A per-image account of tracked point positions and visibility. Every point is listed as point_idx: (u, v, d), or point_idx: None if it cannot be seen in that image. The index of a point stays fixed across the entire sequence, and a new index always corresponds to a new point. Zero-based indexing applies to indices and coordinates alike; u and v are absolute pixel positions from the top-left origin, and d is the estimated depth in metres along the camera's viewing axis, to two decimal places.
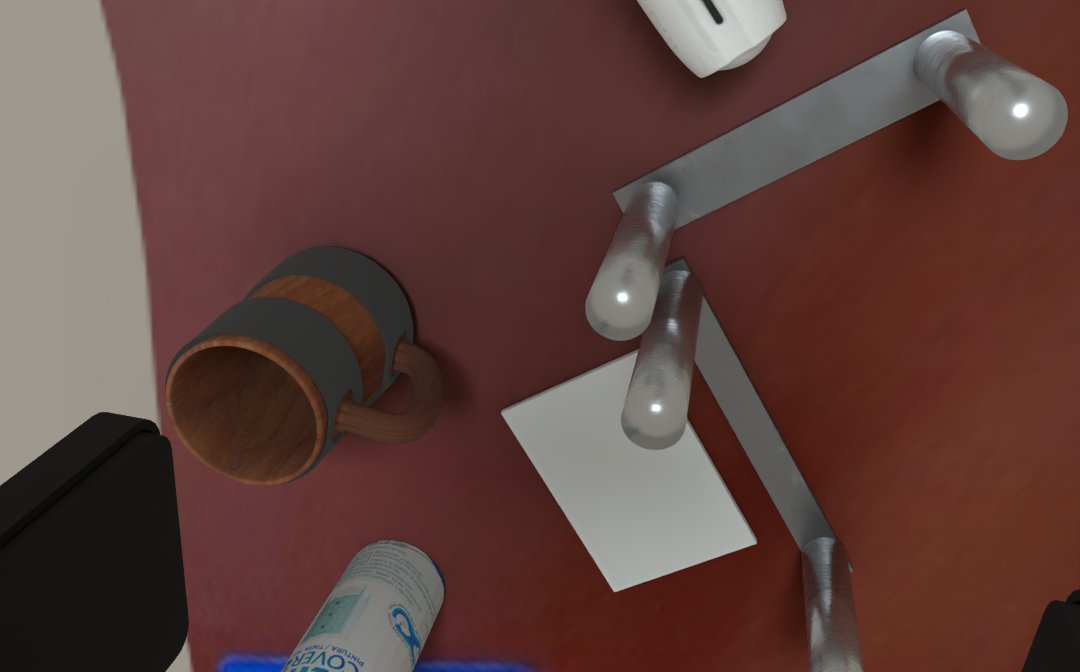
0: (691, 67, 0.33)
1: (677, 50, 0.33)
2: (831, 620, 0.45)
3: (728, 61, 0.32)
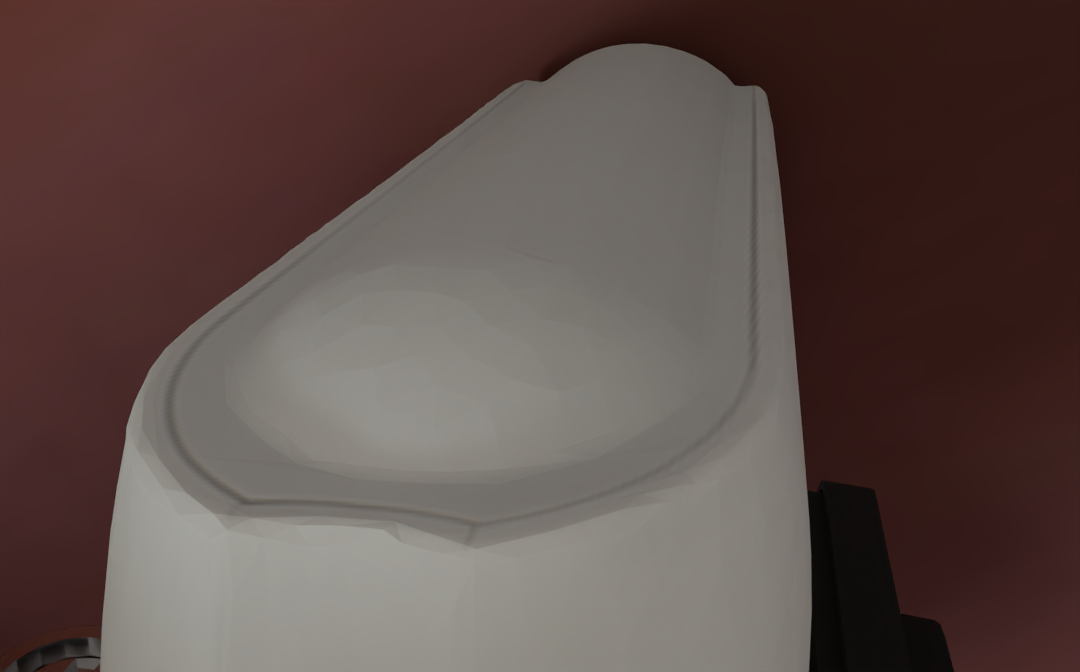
0: (766, 559, 0.04)
1: None
2: None
3: (453, 567, 0.04)
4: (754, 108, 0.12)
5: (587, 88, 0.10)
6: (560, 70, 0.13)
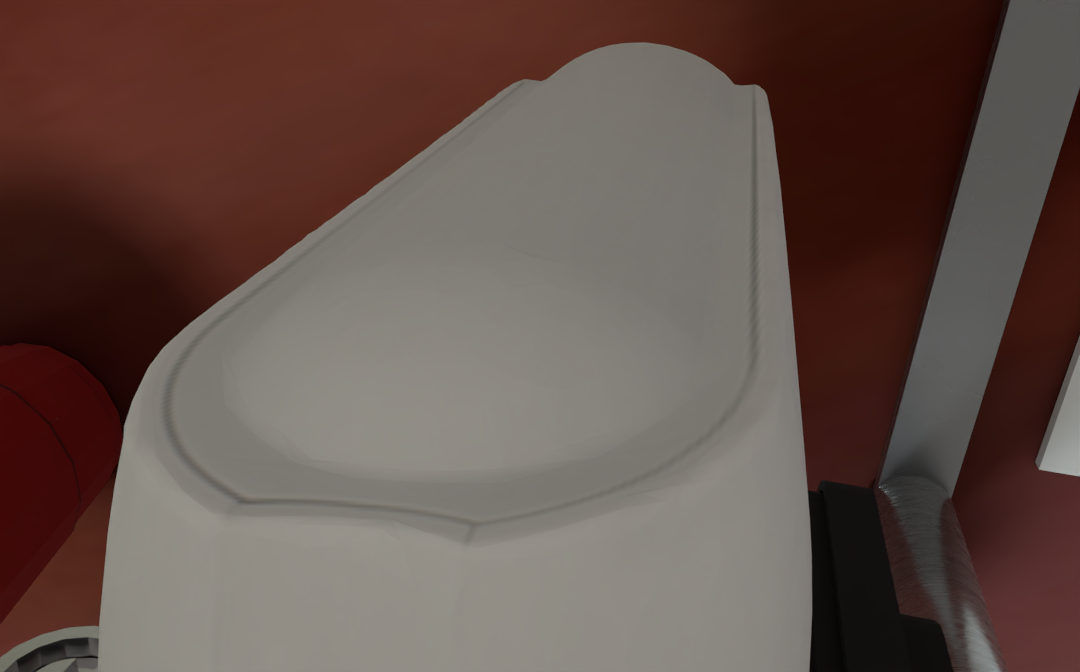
0: (766, 559, 0.04)
1: None
2: None
3: (452, 566, 0.04)
4: (754, 107, 0.12)
5: (587, 87, 0.10)
6: (560, 69, 0.13)
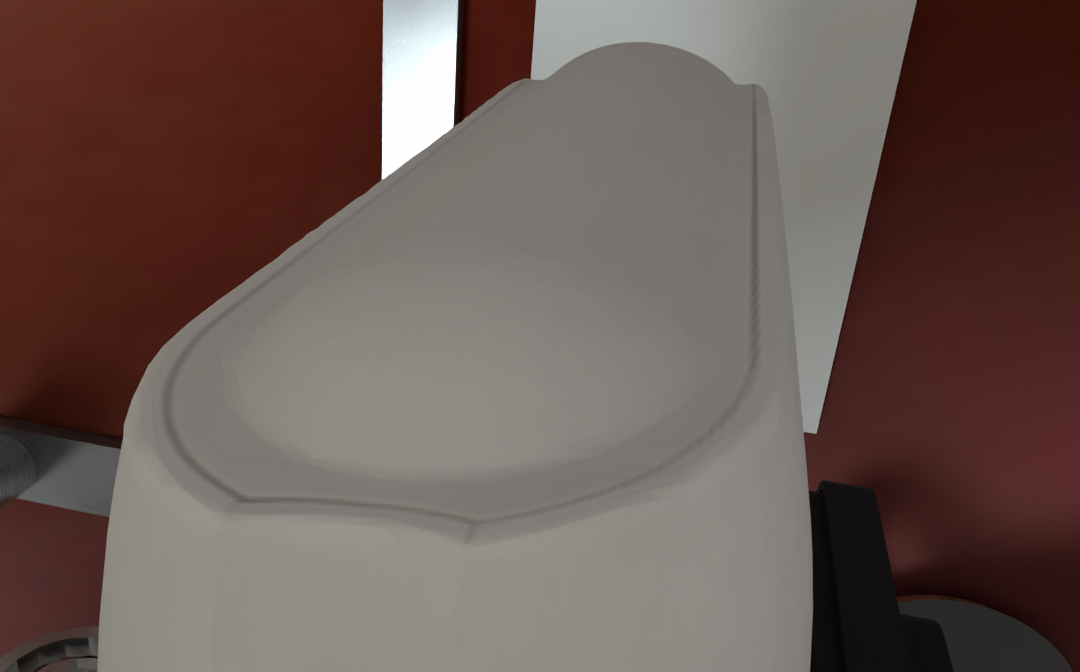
0: (767, 557, 0.04)
1: None
2: None
3: (453, 564, 0.04)
4: (754, 106, 0.12)
5: (587, 86, 0.10)
6: (560, 68, 0.13)
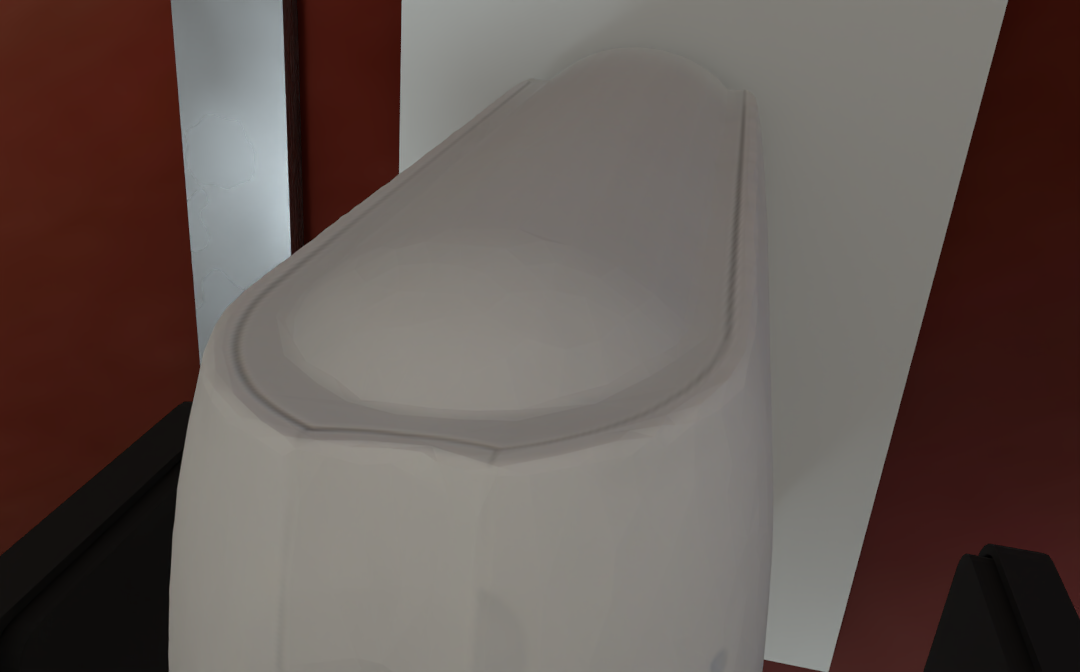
0: (731, 491, 0.05)
1: (727, 634, 0.05)
2: None
3: (478, 480, 0.05)
4: (744, 112, 0.13)
5: (590, 89, 0.11)
6: (564, 70, 0.14)
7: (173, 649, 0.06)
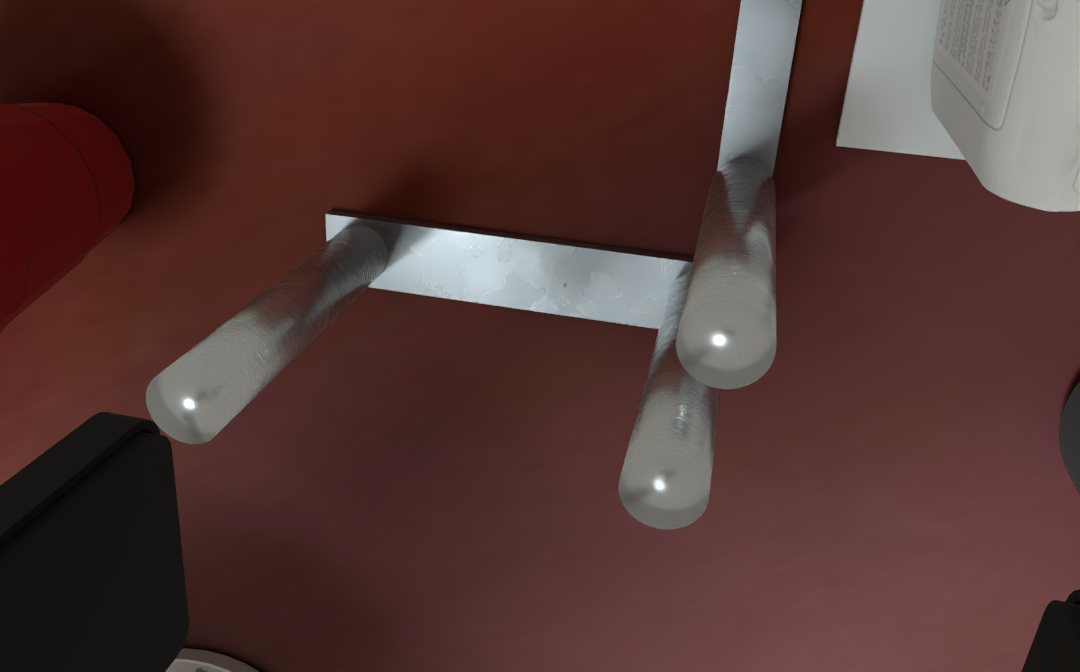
0: None
1: None
2: None
3: None
4: None
5: None
6: None
7: None
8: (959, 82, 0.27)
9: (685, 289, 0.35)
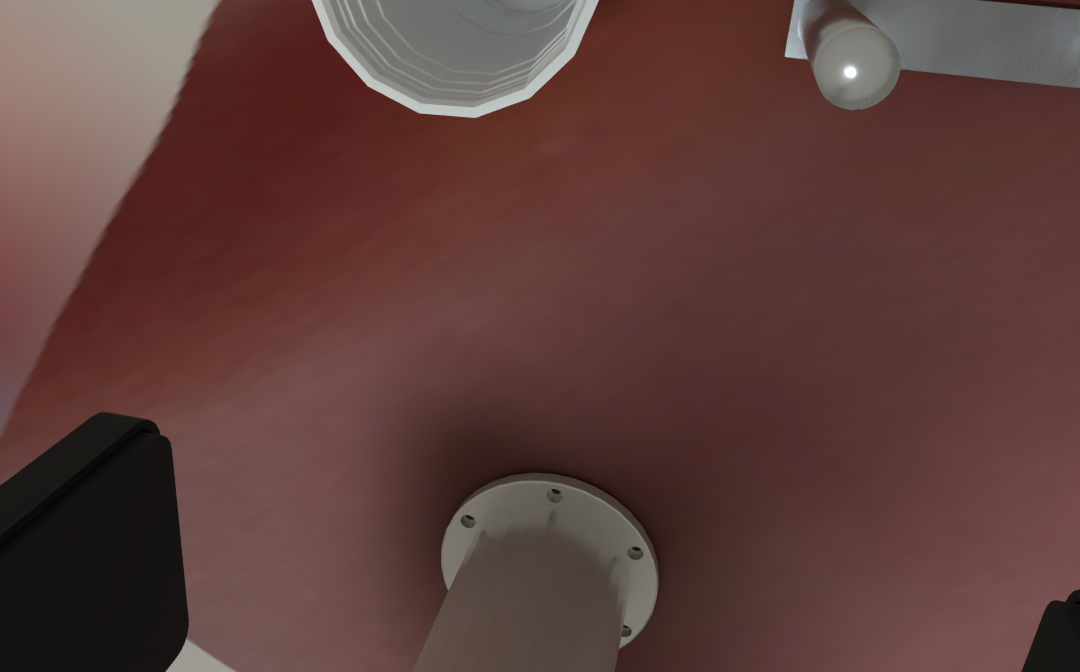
0: None
1: None
2: None
3: None
4: None
5: None
6: None
7: None
8: None
9: None
